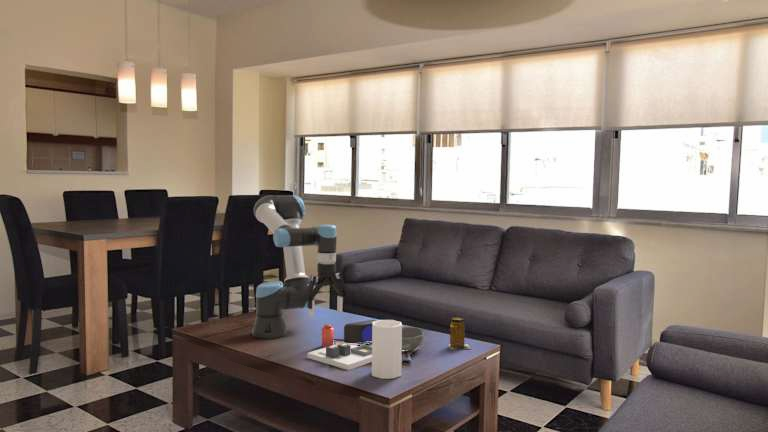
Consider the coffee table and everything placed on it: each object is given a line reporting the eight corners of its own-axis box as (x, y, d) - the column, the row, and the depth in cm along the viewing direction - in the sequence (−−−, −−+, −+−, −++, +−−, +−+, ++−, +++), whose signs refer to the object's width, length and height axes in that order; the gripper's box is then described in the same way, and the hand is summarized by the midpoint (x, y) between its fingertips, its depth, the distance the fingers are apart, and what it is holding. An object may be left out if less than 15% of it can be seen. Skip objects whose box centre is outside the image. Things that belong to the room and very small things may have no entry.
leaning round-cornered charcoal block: (348, 348, 234) (348, 326, 234) (343, 345, 238) (343, 323, 238) (381, 342, 244) (381, 321, 243) (375, 340, 247) (375, 318, 247)
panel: (307, 357, 221) (307, 349, 221) (343, 346, 236) (343, 338, 236) (348, 370, 207) (348, 360, 207) (383, 357, 222) (383, 349, 222)
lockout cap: (319, 346, 236) (319, 325, 236) (327, 344, 240) (327, 322, 239) (327, 349, 233) (327, 327, 232) (336, 346, 237) (336, 324, 236)
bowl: (373, 353, 228) (374, 334, 227) (388, 342, 244) (388, 324, 244) (416, 358, 222) (417, 338, 221) (428, 347, 238) (429, 328, 238)
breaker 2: (337, 354, 219) (337, 344, 219) (342, 352, 222) (342, 342, 222) (344, 356, 217) (345, 346, 217) (350, 354, 219) (350, 344, 219)
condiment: (448, 344, 242) (448, 316, 242) (468, 344, 242) (468, 317, 242) (450, 349, 235) (450, 320, 234) (470, 349, 235) (471, 321, 234)
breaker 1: (325, 356, 216) (325, 346, 216) (331, 354, 219) (331, 344, 219) (333, 358, 214) (333, 348, 214) (338, 356, 216) (338, 346, 216)
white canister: (366, 377, 200) (366, 325, 199) (377, 367, 210) (378, 318, 209) (395, 381, 196) (396, 328, 195) (406, 371, 206) (406, 321, 205)
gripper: (304, 266, 220) (304, 320, 221) (357, 261, 236) (356, 311, 237) (295, 263, 226) (294, 316, 227) (346, 259, 241) (345, 308, 243)
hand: (325, 314), depth 232 cm, fingers open, 13 cm apart
